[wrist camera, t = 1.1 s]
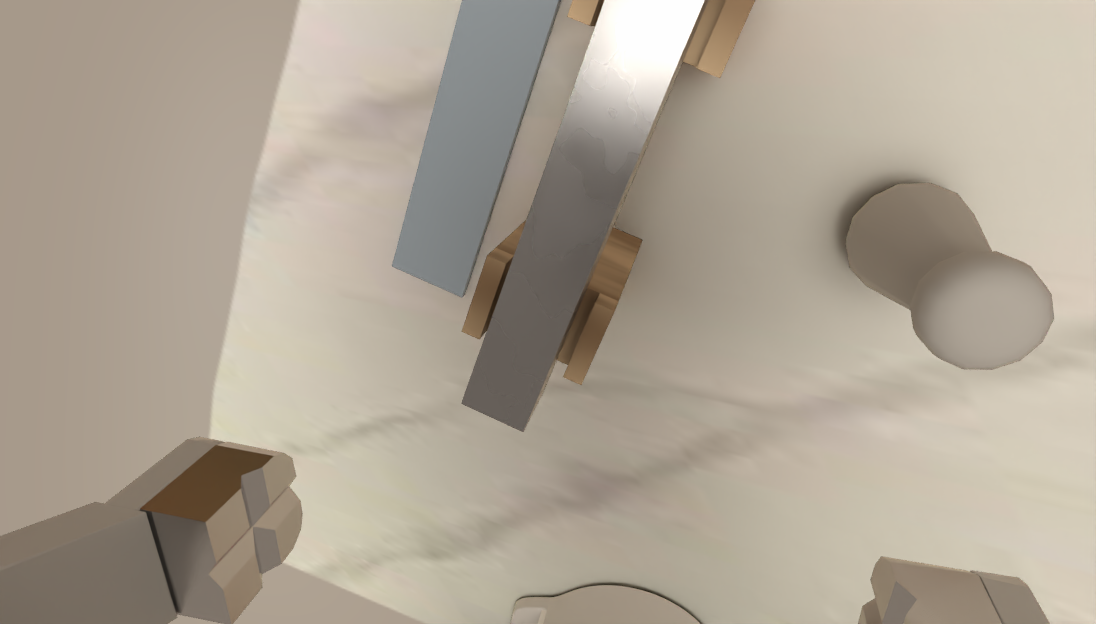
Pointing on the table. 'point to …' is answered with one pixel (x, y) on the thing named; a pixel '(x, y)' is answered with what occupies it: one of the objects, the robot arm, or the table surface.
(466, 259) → the grey flat bar
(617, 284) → the stand far
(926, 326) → the salt shaker
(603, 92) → the bar
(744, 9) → the stand near
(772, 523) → the table surface
